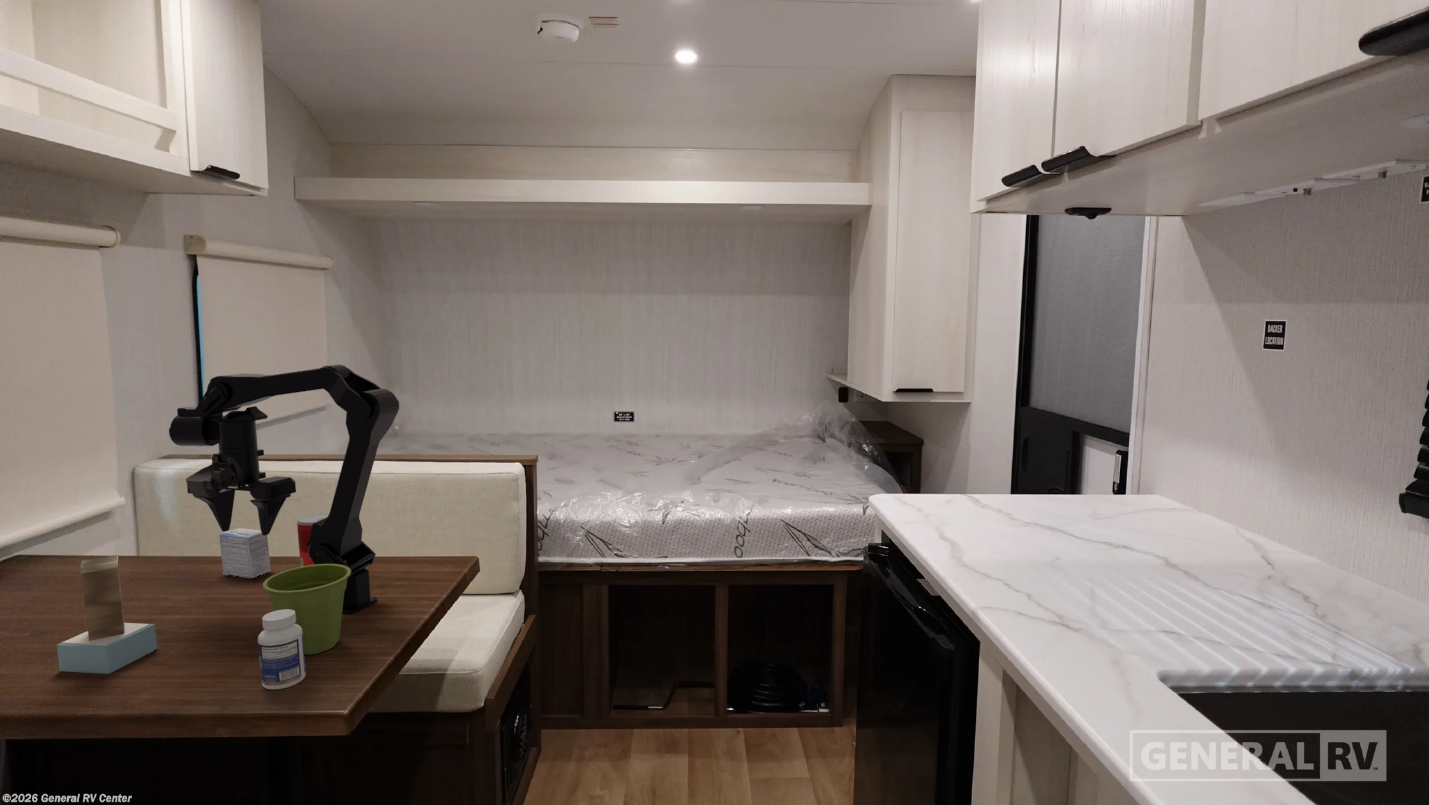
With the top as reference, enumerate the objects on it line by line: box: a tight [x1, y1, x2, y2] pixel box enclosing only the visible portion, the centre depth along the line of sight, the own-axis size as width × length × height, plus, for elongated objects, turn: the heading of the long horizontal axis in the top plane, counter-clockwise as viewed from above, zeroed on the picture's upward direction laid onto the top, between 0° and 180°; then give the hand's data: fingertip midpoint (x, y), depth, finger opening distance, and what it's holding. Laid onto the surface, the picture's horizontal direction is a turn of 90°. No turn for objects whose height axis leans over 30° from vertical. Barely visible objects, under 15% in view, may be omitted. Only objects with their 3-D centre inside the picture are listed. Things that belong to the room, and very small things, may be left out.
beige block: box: [80, 555, 125, 641], centre depth 109 cm, size 4×4×11 cm
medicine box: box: [219, 527, 271, 579], centre depth 147 cm, size 8×4×9 cm, turn 71°
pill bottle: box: [257, 609, 307, 690], centre depth 103 cm, size 5×5×10 cm
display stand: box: [56, 622, 158, 675], centre depth 110 cm, size 8×8×4 cm
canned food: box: [296, 511, 330, 567], centre depth 149 cm, size 8×8×11 cm
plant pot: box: [262, 564, 351, 656], centre depth 113 cm, size 12×12×11 cm
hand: (245, 533), depth 130 cm, fingers open, 9 cm apart
